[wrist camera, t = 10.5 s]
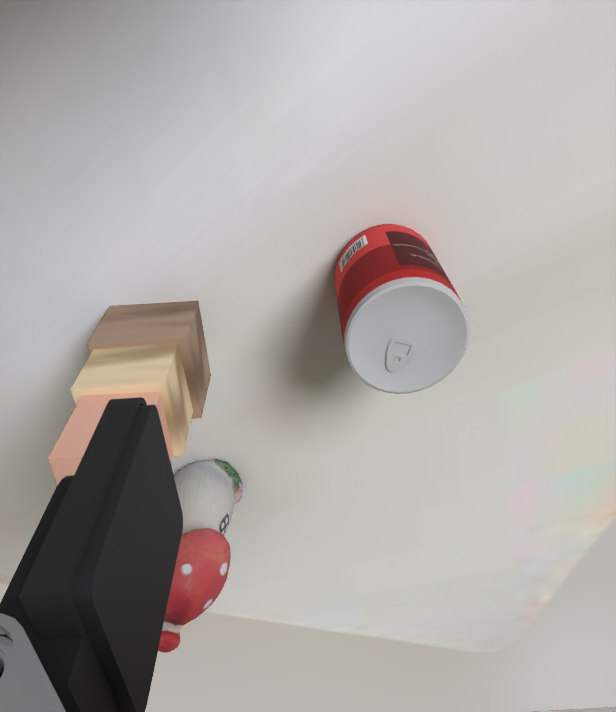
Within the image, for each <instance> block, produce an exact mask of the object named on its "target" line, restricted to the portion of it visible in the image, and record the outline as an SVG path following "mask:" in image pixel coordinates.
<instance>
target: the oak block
mask: <svg viewBox="0 0 616 712" xmlns="http://www.w3.org/2000/svg"><path fill="white" fill-rule="evenodd" d="M70 390H71V393H72V396H73V399H74V402H75V404H76V406H77V404H78V402H79V400H80V398H81V396H82V395H96V394H120V393H144V392H161V395H162V400H163V405H164V410H165V415H166V420H167V424H168V429H169V434H170V439H171V444H172V449H173V455H172V456H179V455H183V452H184V448H185V443H186V439H187V435H188V431H189V427H190V423H191V419H192V415H193V408H192V403H191V399H190V394H189V390H188V385H187V381H186V376H185V372H184V367H183V363H182V358H181V354H180V349H179V345H178V343H167V344H155V345H142V346H129V347H116V348H104V349H93V351H92V353H91V354H90V356H89V358H88V360H87V361H86V363H85V365H84V367H83V368H82V370H81V372H80V374H79V375H78V377H77V379H76V381H75V382H74V384H73V386H72V388H71V389H70Z"/></svg>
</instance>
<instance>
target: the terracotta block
mask: <svg viewBox="0 0 616 712" xmlns="http://www.w3.org/2000/svg"><path fill="white" fill-rule="evenodd" d="M138 397H142V398H144V399H145V401H146V403H147V405H156V407H157V410H158V413H159V417H160V421H161V425H162V430H163V434H164V438H165V442H166V446H167V450H168V454H169V459H170V462H171V458H172V455H173V449H172V444H171V439H170V434H169V429H168V424H167V420H166V415H165V410H164V405H163V400H162V395H161V392H144V393H120V394H96V395H82V396H81V398H80V400H79V402H78V404H77V406H76V407H75V409H74V411H73V413H72V415H71V417H70V418H69V420H68V422H67V424H66V426H65V428H64V430H63V431H62V433H61V435H60V437H59V439H58V441H57V443H56V444H55V446H54V448H53V450H52V452H51V454H50V455H49V457H48V460H49V463H50V466H51V469H52V471H53V474H54V477H55V480H56V483H57V486H58V484H59V483H60V481H61V480H62V479H63V478H64V477H66V476H71V475H75V472H76V470H77V468H78V466H79V464H80V462H81V459H82V457H83V455H84V453H85V451H86V449H87V446H88V444H89V442H90V440H91V438H92V436H93V433H94V431H95V429H96V427H97V425H98V423H99V420H100V418H101V416H102V414H103V412H104V409H105V407H106V405H107V403H108V402H109V400H111V399H122V398H138Z"/></svg>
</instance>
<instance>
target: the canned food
mask: <svg viewBox="0 0 616 712" xmlns="http://www.w3.org/2000/svg"><path fill="white" fill-rule="evenodd" d="M335 288H336V295H337V302H338V309H339V316H340V323H341V330H342V337H343V342H344V347H345V352H346V356H347V358H348V361H349V363H350V365H351V368H352V370H353V371H354V372H355V374H356V375H357V376H358V377H359V378H360V379H361V380H362V381H363V382H364V383H366V384H367V385H369V386H371V387H373V388H374V389H377V390H380V391H383V392H387V393H395V394H403V393H412V392H417V391H421V390H423V389H426V388H428V387H431V386H433V385H434V384H436V383H438V382H440V381H441V380H442V379H444V378H445V377H446V376H447V375H449V374H450V373H451V372H452V371H453V369H454V368H455V367H456V366H457V365H458V363H459V362H460V360H461V358H462V357H463V355H464V353H465V350H466V347H467V345H468V340H469V333H470V332H469V321H468V318H467V314H466V311H465V308H464V306H463V304H462V302H461V300H460V298H459V296H458V294H457V293H456V291H455V289H454V288H453V286H452V284H451V282H450V281H449V279H448V277H447V276H446V274H445V272H444V270H443V269H442V267H441V265H440V263H439V262H438V260H437V258H436V257H435V255H434V253H433V251H432V250H431V248H430V246H429V245H428V243H427V242H426V240H425V239H424V238H423V237H422V236H421V235H420V234H418V233H417V232H415V231H414V230H412V229H409V228H407V227H404V226H400V225H393V224H383V225H378V226H374V227H371V228H368V229H366V230H364V231H362V232H361V233H359V234H358V235H357V236H355V237H354V238H353V239H352V240H351V241H350V242H349V243H348V244H347V246H346V247H345V249H344V250H343V252H342V253H341V255H340V257H339V260H338V262H337V265H336V270H335Z"/></svg>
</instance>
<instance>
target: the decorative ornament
mask: <svg viewBox="0 0 616 712" xmlns="http://www.w3.org/2000/svg"><path fill="white" fill-rule="evenodd" d="M174 479H175V483H176V488H177V492H178V496H179V500H180V504H181V508H182V513H183V531H182V536H181V541H180V546H179V551H178V555H177V560H176V565H175V570H174V575H173V580H172V584H171V589H170V594H169V599H168V604H167V609H166V613H165V618H164V623H163V628H162V633H161V638H160V643H159V647H158V651H161V652H165V653H166V652H170V651H172V650H174V649H175V648H177V647H178V645H179V643H180V635H179V634H180V629H181V627H182V626H183V625H184V624H186V623H188V622H189V621H191V620H193V619H195V618H197V617H198V616H199V615H200V614H202V613H203V612H204V611H205V610H206V609H207V608H208V607H209V606H210V605H211V604H212V603H213V602H214V601H215V599H216V598H217V597H218V595H219V594H220V592H221V590H222V588H223V586H224V584H225V582H226V579H227V575H228V570H229V565H230V546H229V543H228V542H227V540H226V538H225V537H224V534H225V532H226V530H227V528H228V525H229V523H230V520H231V516H232V512H233V506H234V504H236V503H237V502H239V500H240V499H241V497H242V492H243V486H242V482H241V479H240V477H239V475H238V473H237V472H236V471H235V470H234V469H233V468H232V467H231V465H230V464H229V463H228V462H224V461H221V460H217V459H214V460H208V461H198V462H195V463H192V464H188V465H187V466H185V467H184V468H182V469H181V470H180V471H179V472H178V473H177V474H176V475H175V476H174Z"/></svg>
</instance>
